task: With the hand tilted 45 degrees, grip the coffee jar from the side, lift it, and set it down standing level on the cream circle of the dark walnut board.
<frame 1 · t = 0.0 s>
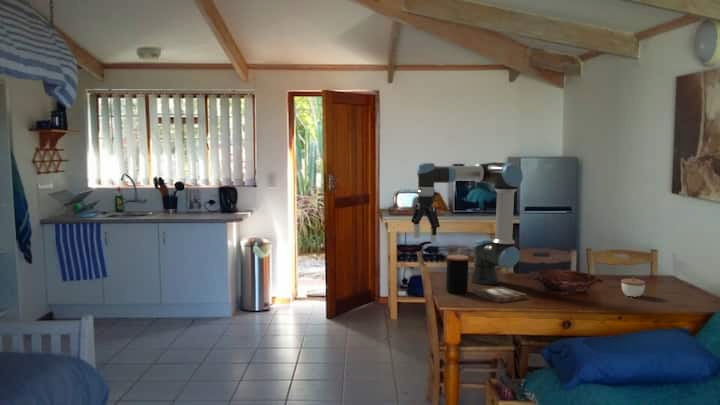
hand: (424, 239, 282), 28 cm above the table, tool pointing down, fingers open, 13 cm apart
coffee jar: (456, 292, 296), on the table
lidded jar: (632, 296, 293), on the table
walnut board: (499, 296, 289), on the table
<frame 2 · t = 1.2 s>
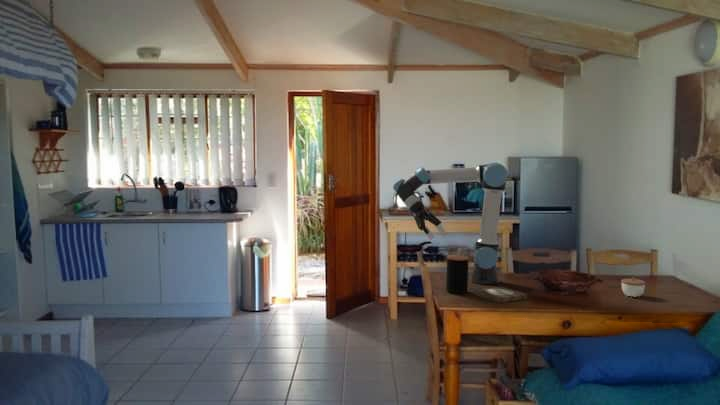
hand: (439, 236, 300), 27 cm above the table, tool tilted 45°, fingers open, 13 cm apart
nothing on the table moved.
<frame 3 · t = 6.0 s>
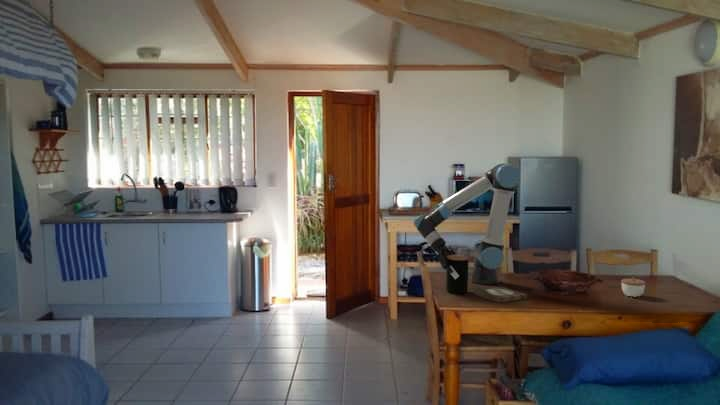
hand: (462, 275, 293), 9 cm above the table, tool tilted 45°, fingers closed on coffee jar, 11 cm apart
coffee jar: (456, 292, 296), on the table, touching gripper
everything else where it was.
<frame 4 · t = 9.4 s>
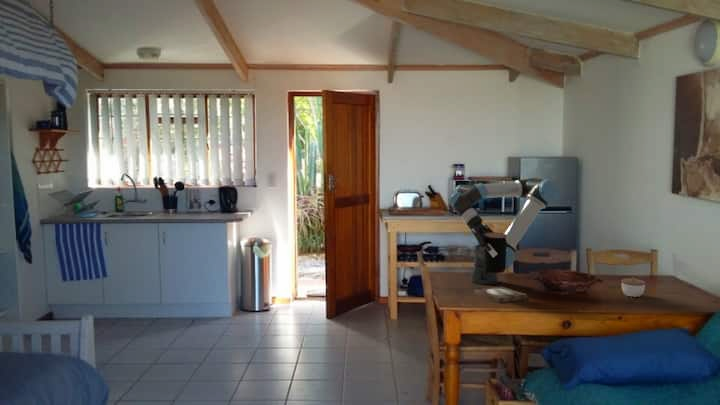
hand: (500, 254, 285), 21 cm above the table, tool tilted 45°, fingers closed on coffee jar, 11 cm apart
coffee jar: (494, 271, 288), point 12 cm above the table, touching gripper
everything else where it was.
when the fingers open (12 cm above the table, at t = 13.0 s): coffee jar stays where it is, resting on walnut board.
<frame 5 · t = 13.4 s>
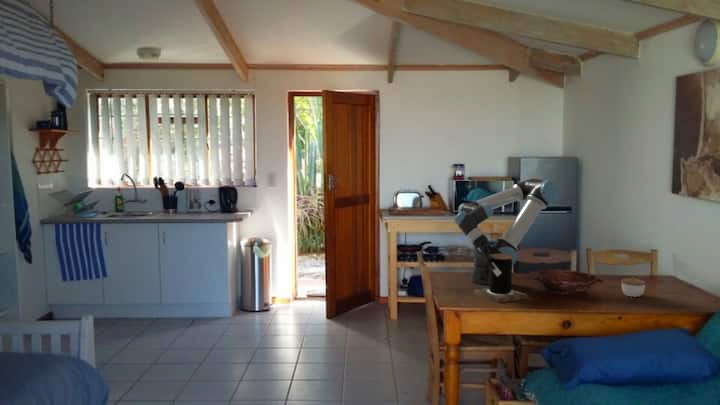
hand: (505, 272, 286), 12 cm above the table, tool tilted 45°, fingers open, 13 cm apart
coffee jar: (499, 292, 288), point 2 cm above the table, touching walnut board
everything else where it was.
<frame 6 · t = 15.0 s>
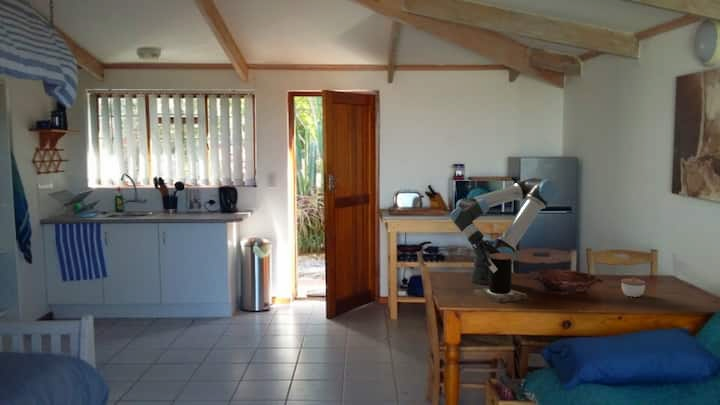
hand: (500, 269, 287), 14 cm above the table, tool tilted 45°, fingers open, 12 cm apart
coffee jar: (499, 291, 288), point 2 cm above the table, touching gripper, walnut board
everything else where it was.
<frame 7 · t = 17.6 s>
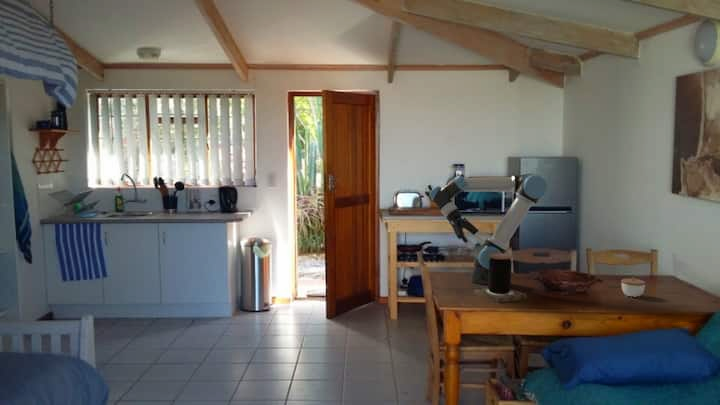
hand: (477, 245, 293), 24 cm above the table, tool tilted 45°, fingers open, 13 cm apart
coffee jar: (499, 292, 289), point 2 cm above the table, touching walnut board
everything else where it was.
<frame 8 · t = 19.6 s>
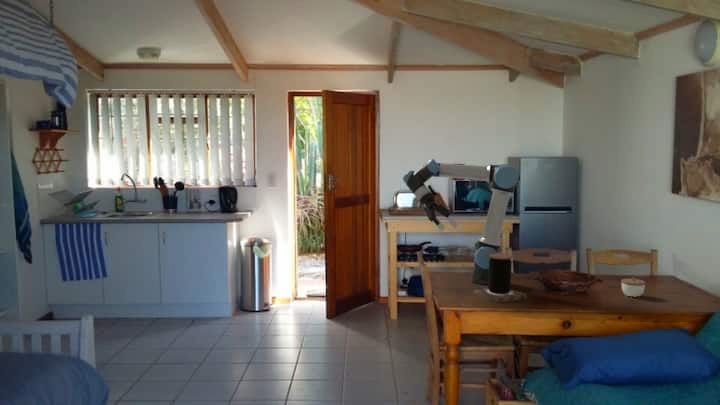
hand: (449, 228, 298), 32 cm above the table, tool tilted 45°, fingers open, 13 cm apart
nothing on the table moved.
at the end: coffee jar inside the target area on the walnut board (0.5 cm from its centre), point 2.0 cm above the walnut board's base; coffee jar tilted 0°; the gripper is holding nothing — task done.
